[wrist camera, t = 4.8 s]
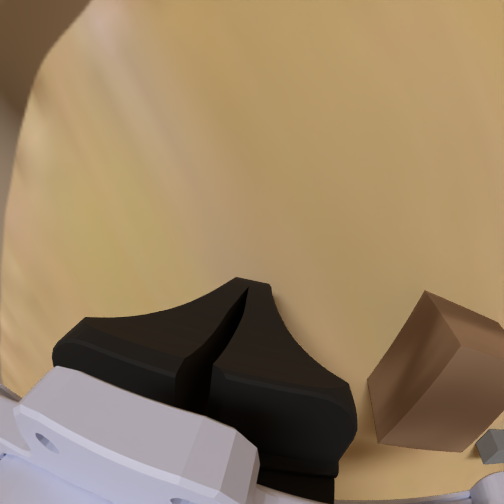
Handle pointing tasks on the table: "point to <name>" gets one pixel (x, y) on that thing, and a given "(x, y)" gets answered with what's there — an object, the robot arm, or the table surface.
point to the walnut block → (439, 378)
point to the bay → (492, 447)
